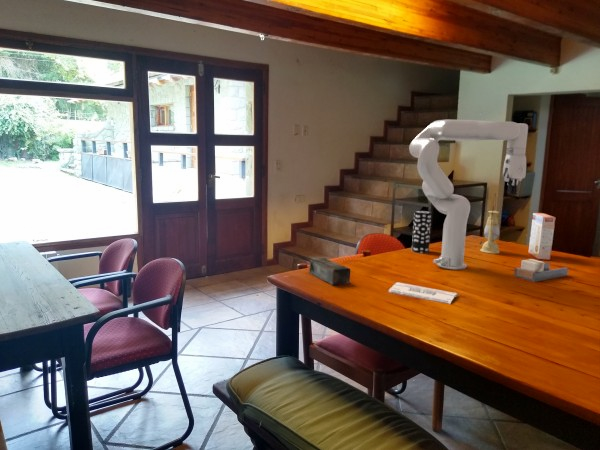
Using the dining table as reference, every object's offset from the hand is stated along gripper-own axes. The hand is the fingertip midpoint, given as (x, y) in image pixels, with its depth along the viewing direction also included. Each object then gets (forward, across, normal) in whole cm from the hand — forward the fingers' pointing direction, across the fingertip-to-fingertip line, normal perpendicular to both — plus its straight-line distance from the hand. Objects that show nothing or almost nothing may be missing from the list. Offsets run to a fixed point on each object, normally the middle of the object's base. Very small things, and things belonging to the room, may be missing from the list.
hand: (511, 194), depth 201 cm
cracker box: (+32, +30, +3) cm, 44 cm away
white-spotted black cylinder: (+32, -17, +36) cm, 51 cm away
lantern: (+32, +16, +21) cm, 42 cm away
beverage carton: (+33, -85, +16) cm, 92 cm away
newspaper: (+33, -64, -15) cm, 74 cm away
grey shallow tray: (+32, -2, -19) cm, 37 cm away
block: (+32, -8, -19) cm, 38 cm away
